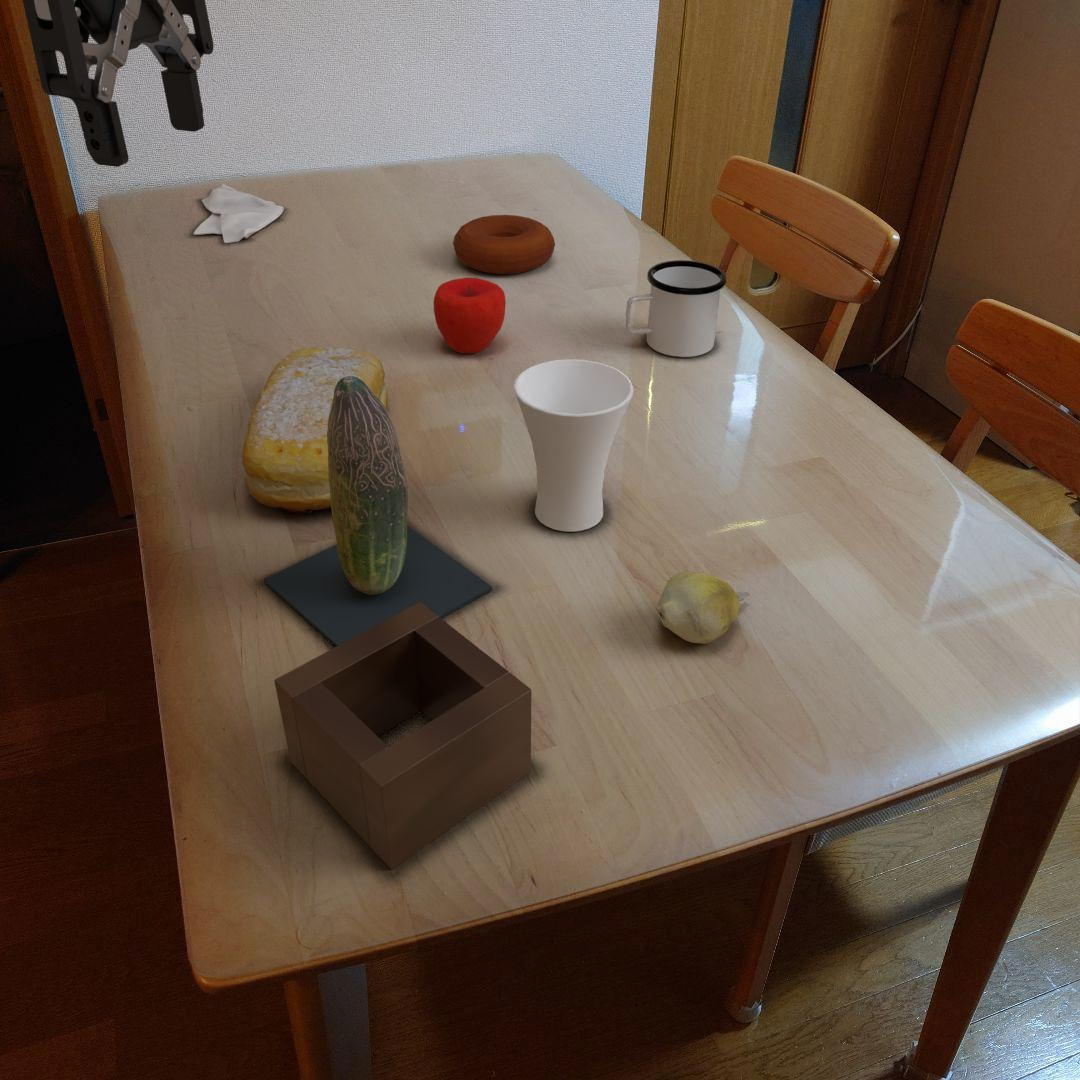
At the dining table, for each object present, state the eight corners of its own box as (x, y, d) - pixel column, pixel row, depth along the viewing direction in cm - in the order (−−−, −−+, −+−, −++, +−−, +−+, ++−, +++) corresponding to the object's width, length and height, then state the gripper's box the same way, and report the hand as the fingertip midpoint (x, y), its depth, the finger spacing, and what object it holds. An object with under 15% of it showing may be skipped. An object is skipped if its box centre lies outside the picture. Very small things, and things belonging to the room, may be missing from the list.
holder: (391, 870, 64) (380, 786, 59) (290, 761, 71) (273, 679, 66) (531, 771, 70) (531, 689, 66) (426, 681, 78) (419, 601, 73)
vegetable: (328, 576, 87) (298, 366, 75) (394, 553, 90) (375, 347, 78) (357, 615, 83) (330, 400, 71) (425, 590, 86) (410, 378, 74)
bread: (232, 526, 94) (217, 453, 89) (274, 391, 115) (263, 326, 110) (377, 522, 94) (370, 449, 90) (392, 389, 116) (387, 324, 111)
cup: (596, 557, 90) (604, 426, 82) (494, 526, 94) (491, 397, 86) (640, 499, 98) (651, 374, 90) (544, 472, 102) (546, 349, 94)
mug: (702, 324, 131) (710, 257, 125) (729, 356, 123) (738, 286, 118) (613, 332, 128) (617, 264, 123) (635, 365, 121) (640, 294, 116)
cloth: (281, 240, 154) (278, 226, 152) (187, 245, 152) (184, 230, 150) (286, 187, 174) (284, 174, 173) (204, 191, 172) (201, 177, 171)
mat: (356, 665, 79) (355, 662, 79) (263, 582, 87) (263, 578, 87) (492, 590, 87) (492, 586, 86) (395, 520, 95) (395, 516, 95)
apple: (518, 354, 123) (519, 293, 119) (452, 368, 120) (450, 306, 115) (488, 326, 130) (487, 267, 125) (424, 339, 126) (420, 279, 122)
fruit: (774, 622, 84) (696, 664, 77) (716, 606, 88) (638, 644, 82) (773, 557, 82) (694, 593, 76) (714, 543, 86) (635, 577, 80)
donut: (517, 235, 156) (517, 203, 153) (574, 265, 147) (576, 231, 144) (434, 255, 149) (433, 221, 146) (489, 287, 140) (489, 252, 137)
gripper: (111, -159, 63) (165, 115, 73) (-61, -150, 52) (29, 171, 62) (217, -156, 61) (258, 124, 71) (61, -146, 50) (135, 183, 60)
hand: (151, 146), depth 66 cm, fingers open, 8 cm apart
